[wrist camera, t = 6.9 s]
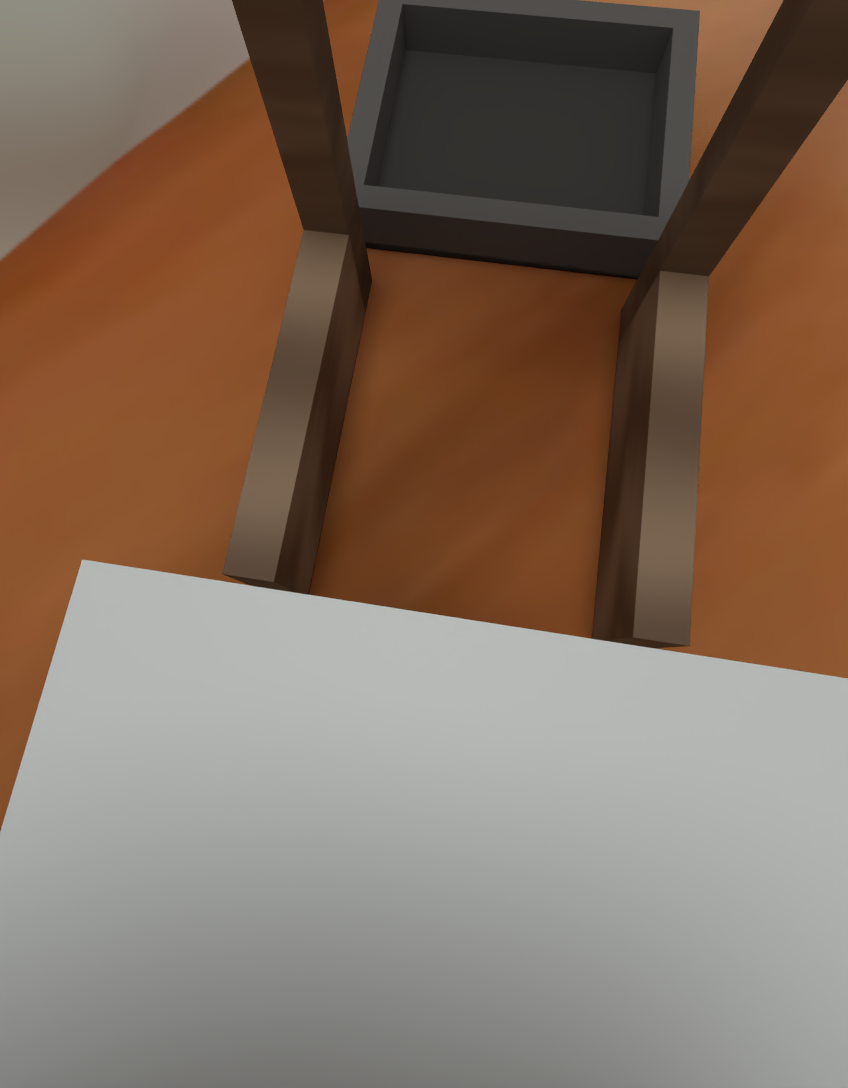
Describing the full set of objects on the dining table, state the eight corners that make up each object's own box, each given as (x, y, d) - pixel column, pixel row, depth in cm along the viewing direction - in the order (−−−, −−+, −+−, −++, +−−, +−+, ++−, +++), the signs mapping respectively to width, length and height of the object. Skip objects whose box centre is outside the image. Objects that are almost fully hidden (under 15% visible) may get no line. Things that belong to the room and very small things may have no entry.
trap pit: (662, 281, 21) (685, 243, 19) (342, 244, 22) (332, 204, 20) (677, 64, 24) (699, 10, 22) (387, 37, 24) (382, -17, 22)
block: (520, 896, 14) (897, 1945, 3) (301, 856, 15) (-235, 1616, 3) (544, 668, 16) (868, 681, 4) (343, 637, 16) (82, 559, 4)
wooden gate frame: (635, 649, 18) (1429, 604, 4) (266, 591, 19) (-308, 363, 4) (659, 314, 21) (1175, -487, 6) (335, 276, 22) (122, -521, 7)
